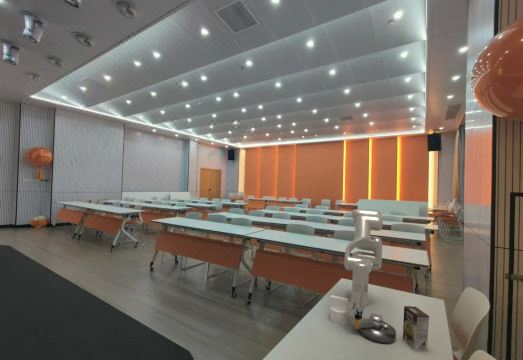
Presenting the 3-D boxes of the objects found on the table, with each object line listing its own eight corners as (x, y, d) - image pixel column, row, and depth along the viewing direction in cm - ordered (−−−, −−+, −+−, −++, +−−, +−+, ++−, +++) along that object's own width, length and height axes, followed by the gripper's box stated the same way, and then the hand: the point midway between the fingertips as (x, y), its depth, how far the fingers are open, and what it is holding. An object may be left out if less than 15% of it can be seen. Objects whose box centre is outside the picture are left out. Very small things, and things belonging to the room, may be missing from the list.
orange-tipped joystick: (377, 323, 132) (377, 313, 132) (385, 329, 126) (385, 319, 126) (351, 325, 129) (352, 314, 129) (358, 331, 123) (359, 321, 123)
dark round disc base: (351, 332, 128) (351, 323, 128) (364, 319, 141) (364, 311, 141) (389, 349, 116) (390, 340, 116) (400, 333, 129) (400, 325, 129)
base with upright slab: (329, 321, 137) (330, 299, 137) (330, 314, 145) (331, 292, 146) (346, 325, 134) (348, 302, 134) (347, 317, 142) (348, 296, 143)
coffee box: (401, 338, 125) (403, 305, 125) (414, 338, 125) (415, 305, 125) (414, 351, 116) (416, 315, 116) (428, 351, 116) (429, 315, 116)
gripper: (358, 280, 138) (356, 314, 138) (346, 288, 127) (344, 325, 127) (372, 284, 133) (370, 320, 133) (361, 293, 122) (360, 331, 122)
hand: (358, 322), depth 130 cm, fingers closed
